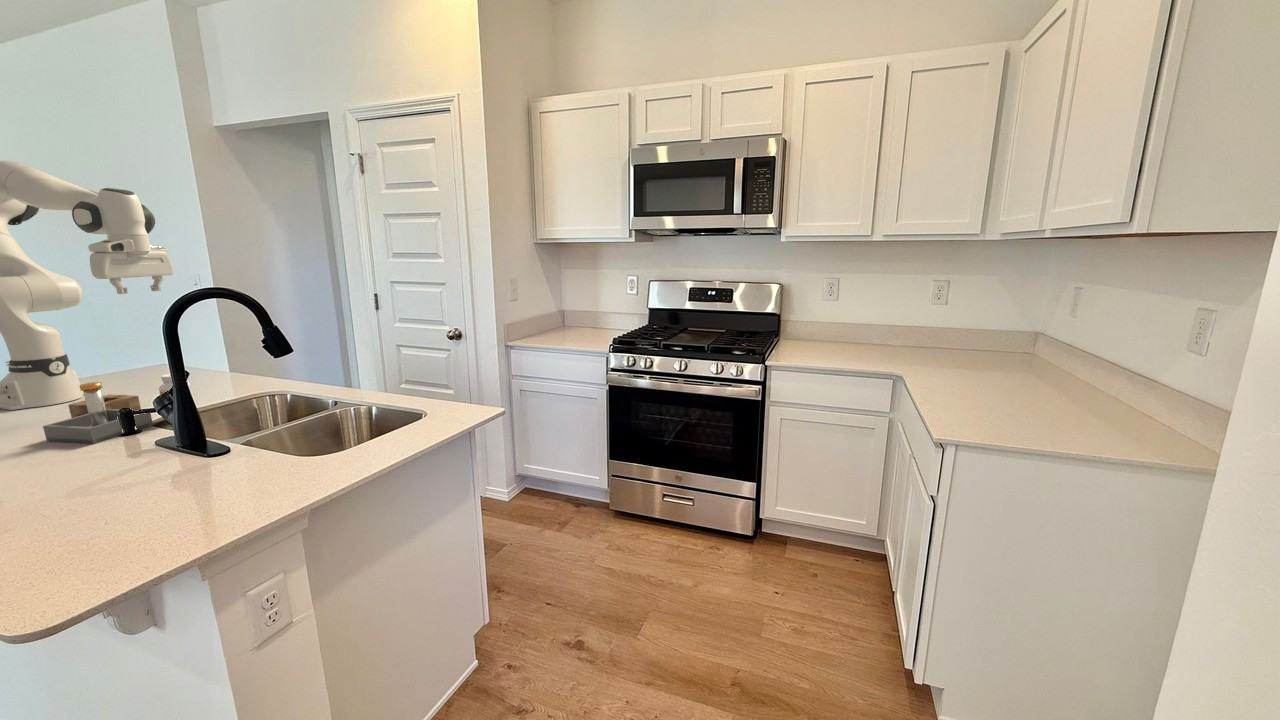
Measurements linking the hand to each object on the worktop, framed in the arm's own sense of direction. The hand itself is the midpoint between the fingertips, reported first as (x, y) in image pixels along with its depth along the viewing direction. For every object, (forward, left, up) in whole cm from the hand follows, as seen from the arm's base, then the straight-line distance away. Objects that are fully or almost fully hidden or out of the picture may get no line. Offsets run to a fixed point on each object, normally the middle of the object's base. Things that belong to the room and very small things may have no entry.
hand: (139, 292), depth 156 cm
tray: (+14, -27, -34) cm, 46 cm away
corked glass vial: (+14, -27, -33) cm, 45 cm away
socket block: (+1, -16, -34) cm, 38 cm away
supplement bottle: (+23, -14, -34) cm, 44 cm away
